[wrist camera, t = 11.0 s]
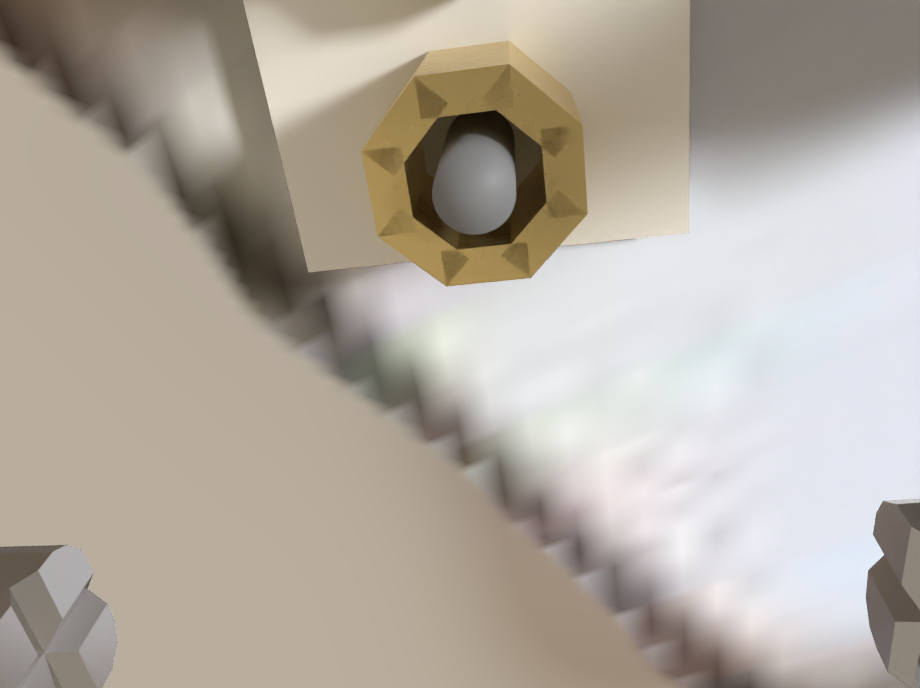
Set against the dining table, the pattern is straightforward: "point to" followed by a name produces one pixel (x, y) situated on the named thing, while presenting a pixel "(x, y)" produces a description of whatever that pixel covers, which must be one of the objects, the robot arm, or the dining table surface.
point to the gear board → (389, 47)
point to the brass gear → (537, 198)
